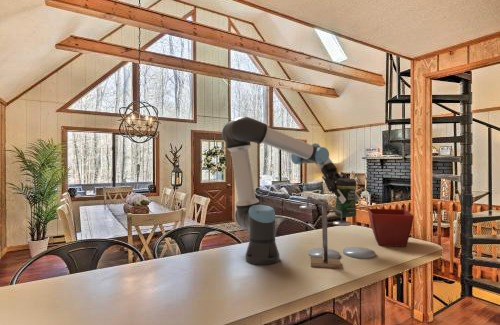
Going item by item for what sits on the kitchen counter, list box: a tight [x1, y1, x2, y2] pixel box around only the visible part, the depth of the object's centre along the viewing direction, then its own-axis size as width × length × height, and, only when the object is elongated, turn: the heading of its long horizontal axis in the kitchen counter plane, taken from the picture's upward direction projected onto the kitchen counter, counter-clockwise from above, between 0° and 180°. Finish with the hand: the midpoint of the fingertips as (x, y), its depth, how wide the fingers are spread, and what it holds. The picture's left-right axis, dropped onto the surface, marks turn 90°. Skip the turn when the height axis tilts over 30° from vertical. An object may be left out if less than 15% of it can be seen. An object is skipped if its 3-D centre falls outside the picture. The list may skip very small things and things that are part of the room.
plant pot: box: [367, 208, 414, 247], centre depth 150 cm, size 19×19×17 cm
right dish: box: [342, 246, 376, 259], centre depth 132 cm, size 14×14×1 cm
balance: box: [299, 195, 352, 269], centre depth 118 cm, size 21×7×29 cm, turn 78°
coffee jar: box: [334, 177, 357, 218], centre depth 138 cm, size 10×8×19 cm
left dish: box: [308, 247, 341, 259], centre depth 130 cm, size 14×14×1 cm
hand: (351, 200), depth 135 cm, fingers closed on coffee jar, 9 cm apart
